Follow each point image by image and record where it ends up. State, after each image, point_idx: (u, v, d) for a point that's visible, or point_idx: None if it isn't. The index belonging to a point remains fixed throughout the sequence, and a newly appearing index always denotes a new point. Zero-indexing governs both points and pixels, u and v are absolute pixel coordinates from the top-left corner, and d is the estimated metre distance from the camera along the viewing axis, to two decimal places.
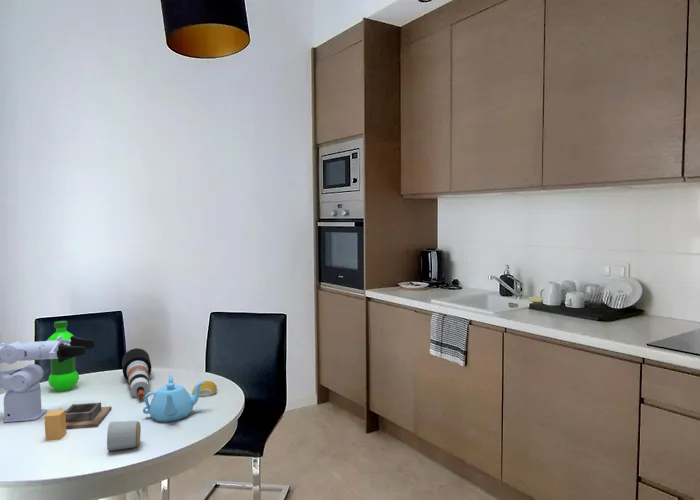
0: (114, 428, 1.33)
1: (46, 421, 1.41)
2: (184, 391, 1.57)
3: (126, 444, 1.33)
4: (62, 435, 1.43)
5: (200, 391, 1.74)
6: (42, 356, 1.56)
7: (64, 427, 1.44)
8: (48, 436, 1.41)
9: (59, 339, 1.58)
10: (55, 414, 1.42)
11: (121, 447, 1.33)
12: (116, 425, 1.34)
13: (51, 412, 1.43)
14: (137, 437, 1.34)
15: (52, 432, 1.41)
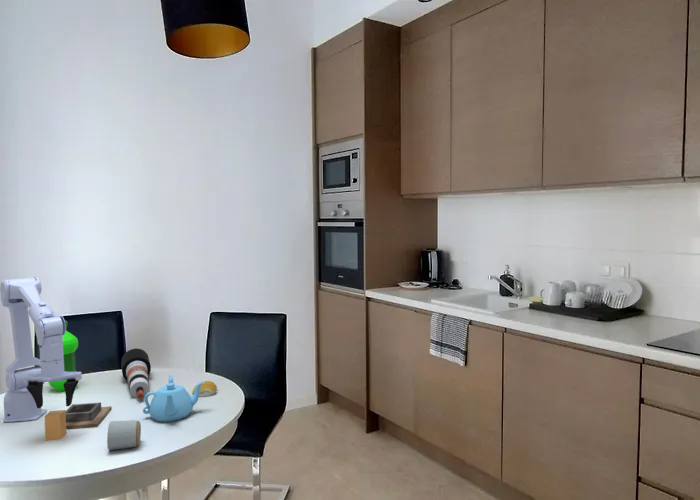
0: (114, 427, 1.33)
1: (46, 421, 1.41)
2: (184, 391, 1.57)
3: (126, 444, 1.33)
4: (62, 435, 1.43)
5: (200, 391, 1.74)
6: None
7: (64, 427, 1.44)
8: (48, 436, 1.41)
9: None
10: (55, 414, 1.42)
11: (121, 446, 1.33)
12: (117, 424, 1.34)
13: (51, 412, 1.43)
14: (137, 436, 1.34)
15: (52, 432, 1.41)
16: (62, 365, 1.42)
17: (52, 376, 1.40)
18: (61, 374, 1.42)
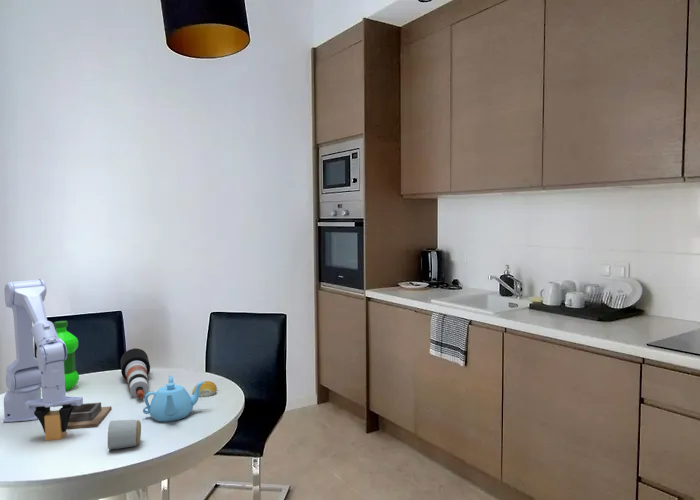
0: (115, 427, 1.34)
1: (46, 421, 1.41)
2: (184, 391, 1.57)
3: (126, 443, 1.34)
4: (62, 435, 1.43)
5: (200, 391, 1.74)
6: None
7: None
8: (48, 436, 1.41)
9: None
10: (55, 414, 1.42)
11: (121, 446, 1.34)
12: (117, 424, 1.34)
13: (51, 412, 1.43)
14: (137, 436, 1.35)
15: (52, 432, 1.41)
16: (64, 391, 1.43)
17: (53, 402, 1.40)
18: (62, 400, 1.42)
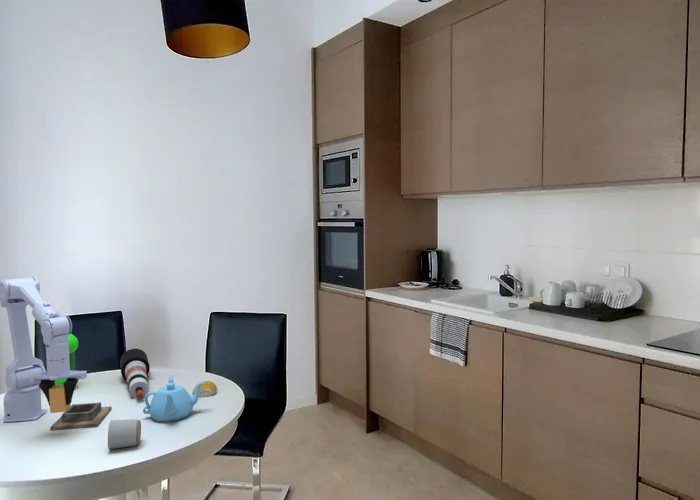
0: (115, 426, 1.34)
1: (51, 394, 1.43)
2: (184, 391, 1.57)
3: (126, 443, 1.34)
4: (66, 408, 1.45)
5: (200, 391, 1.74)
6: None
7: None
8: (53, 409, 1.43)
9: None
10: (59, 387, 1.44)
11: (121, 445, 1.34)
12: (117, 423, 1.35)
13: (56, 385, 1.46)
14: (137, 435, 1.35)
15: (56, 405, 1.43)
16: (68, 364, 1.45)
17: (58, 375, 1.42)
18: (67, 373, 1.44)
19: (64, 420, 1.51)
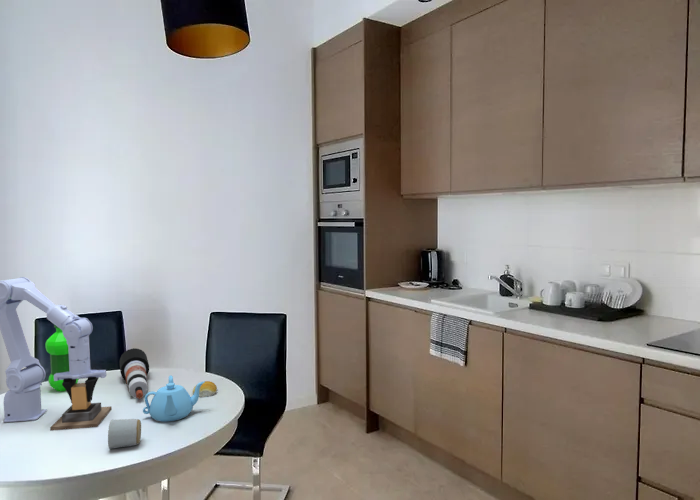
0: (115, 426, 1.34)
1: (73, 392, 1.53)
2: (184, 391, 1.57)
3: (127, 442, 1.34)
4: (87, 405, 1.55)
5: (200, 391, 1.74)
6: None
7: None
8: (74, 406, 1.53)
9: None
10: (81, 386, 1.54)
11: (122, 445, 1.34)
12: (117, 423, 1.35)
13: (77, 384, 1.55)
14: (138, 435, 1.35)
15: (78, 402, 1.53)
16: (89, 364, 1.55)
17: (80, 374, 1.52)
18: (88, 372, 1.54)
19: (64, 420, 1.51)
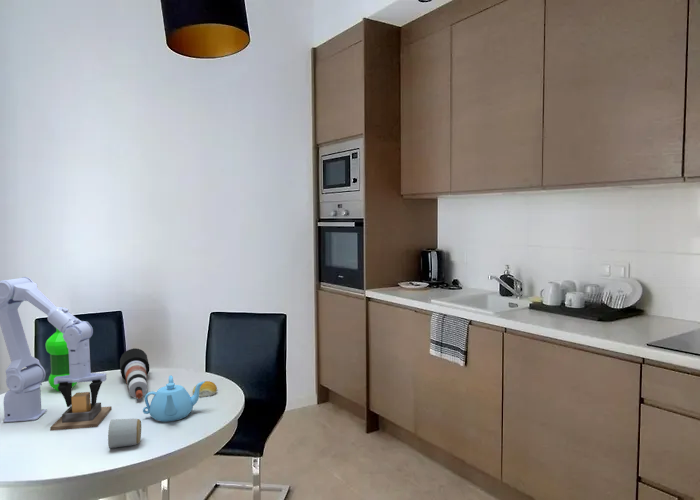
0: (115, 426, 1.34)
1: (73, 401, 1.53)
2: (184, 391, 1.57)
3: (127, 442, 1.35)
4: None
5: (200, 391, 1.74)
6: None
7: (89, 408, 1.56)
8: None
9: None
10: (81, 395, 1.54)
11: (122, 444, 1.35)
12: (117, 423, 1.35)
13: (77, 394, 1.55)
14: (138, 435, 1.36)
15: None
16: (89, 367, 1.55)
17: (80, 377, 1.52)
18: (88, 375, 1.54)
19: (64, 420, 1.51)
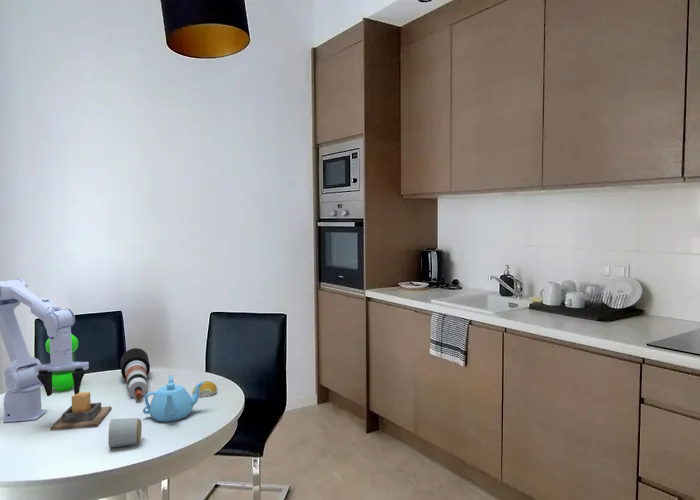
0: (115, 425, 1.35)
1: (73, 401, 1.53)
2: (184, 391, 1.57)
3: (127, 441, 1.35)
4: None
5: (200, 391, 1.74)
6: None
7: (89, 408, 1.56)
8: None
9: (55, 369, 1.48)
10: (81, 395, 1.54)
11: (122, 444, 1.35)
12: (118, 422, 1.36)
13: (77, 394, 1.55)
14: (138, 434, 1.36)
15: None
16: (71, 356, 1.51)
17: (61, 366, 1.48)
18: (69, 364, 1.50)
19: (64, 420, 1.51)
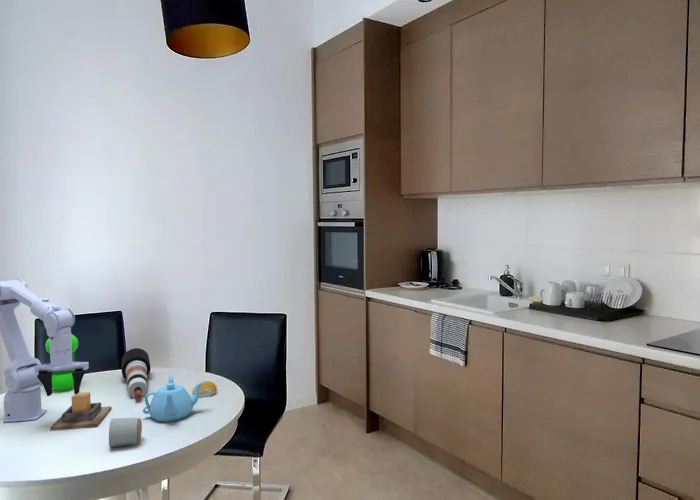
0: (116, 425, 1.35)
1: (73, 401, 1.53)
2: (184, 391, 1.57)
3: (127, 441, 1.35)
4: None
5: (200, 391, 1.74)
6: None
7: (89, 408, 1.56)
8: None
9: (55, 369, 1.48)
10: (81, 395, 1.54)
11: (122, 443, 1.35)
12: (118, 422, 1.36)
13: (77, 394, 1.55)
14: (138, 433, 1.36)
15: None
16: (71, 356, 1.51)
17: (61, 366, 1.48)
18: (69, 364, 1.50)
19: (64, 420, 1.51)
